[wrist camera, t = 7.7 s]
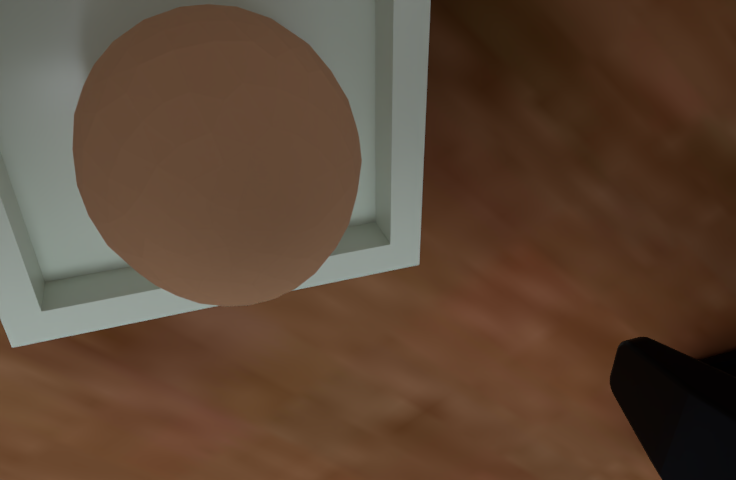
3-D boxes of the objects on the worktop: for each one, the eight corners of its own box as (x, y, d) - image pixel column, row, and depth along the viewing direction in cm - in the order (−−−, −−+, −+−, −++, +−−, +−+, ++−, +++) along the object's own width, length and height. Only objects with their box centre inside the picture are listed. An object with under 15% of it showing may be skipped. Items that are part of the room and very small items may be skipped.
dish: (405, -179, 16) (438, -178, 15) (396, 233, 23) (419, 264, 21) (-159, -171, 13) (-195, -168, 12) (19, 304, 20) (11, 347, 18)
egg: (279, -55, 16) (391, 30, 10) (331, 156, 20) (438, 318, 13) (32, 12, 15) (-18, 153, 9) (133, 221, 19) (148, 429, 13)
